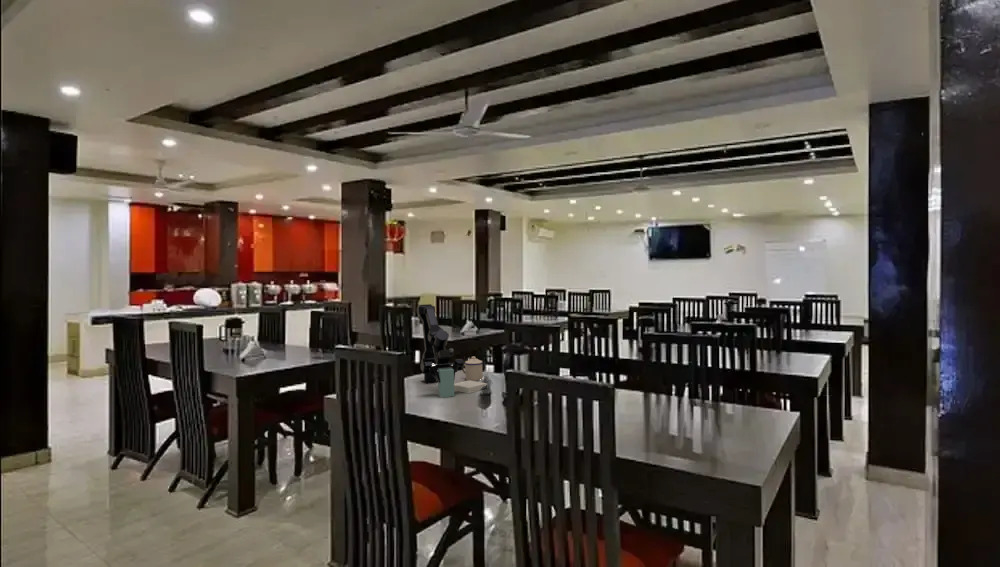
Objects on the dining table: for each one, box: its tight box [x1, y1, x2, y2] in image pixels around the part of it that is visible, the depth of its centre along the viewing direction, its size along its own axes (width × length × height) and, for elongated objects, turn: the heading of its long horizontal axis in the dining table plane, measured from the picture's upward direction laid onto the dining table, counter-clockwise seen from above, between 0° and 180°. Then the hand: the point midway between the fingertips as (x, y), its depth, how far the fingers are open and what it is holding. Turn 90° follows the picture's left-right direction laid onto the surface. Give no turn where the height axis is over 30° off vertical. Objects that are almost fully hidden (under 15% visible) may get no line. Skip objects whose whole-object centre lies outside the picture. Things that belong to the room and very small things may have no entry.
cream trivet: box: [454, 380, 488, 394], centre depth 278 cm, size 12×12×2 cm
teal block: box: [437, 368, 455, 398], centre depth 266 cm, size 5×6×12 cm
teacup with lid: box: [461, 356, 484, 382], centre depth 301 cm, size 12×9×12 cm
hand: (446, 381), depth 264 cm, fingers closed on teal block, 6 cm apart
